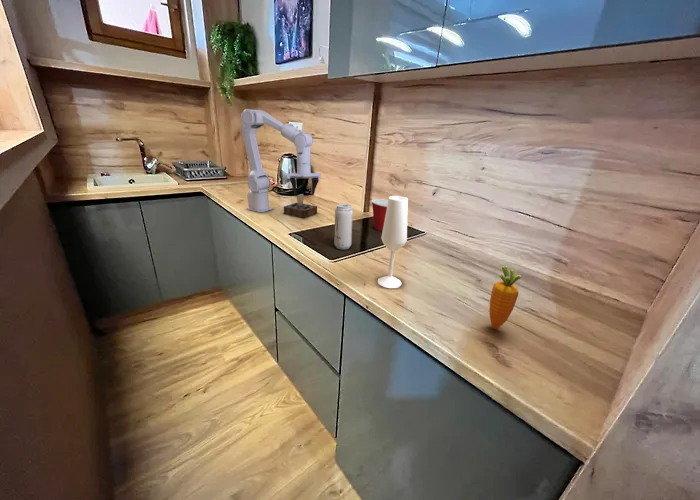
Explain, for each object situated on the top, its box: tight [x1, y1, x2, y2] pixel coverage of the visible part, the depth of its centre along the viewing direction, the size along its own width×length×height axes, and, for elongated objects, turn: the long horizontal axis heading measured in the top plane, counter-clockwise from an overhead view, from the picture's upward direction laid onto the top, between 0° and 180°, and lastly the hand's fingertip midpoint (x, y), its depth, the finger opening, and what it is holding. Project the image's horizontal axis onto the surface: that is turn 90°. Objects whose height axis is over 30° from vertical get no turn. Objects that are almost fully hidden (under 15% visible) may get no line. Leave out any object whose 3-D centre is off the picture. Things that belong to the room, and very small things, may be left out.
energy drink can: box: [333, 203, 354, 250], centre depth 105 cm, size 6×6×15 cm
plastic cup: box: [370, 198, 388, 232], centre depth 125 cm, size 11×11×12 cm
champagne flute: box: [377, 195, 409, 289], centre depth 81 cm, size 7×7×24 cm
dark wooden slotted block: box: [283, 201, 318, 219], centre depth 143 cm, size 12×10×4 cm
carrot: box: [489, 265, 522, 330], centre depth 65 cm, size 5×5×15 cm
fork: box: [296, 193, 305, 208], centre depth 141 cm, size 1×4×9 cm, turn 151°
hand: (304, 194), depth 135 cm, fingers open, 7 cm apart
